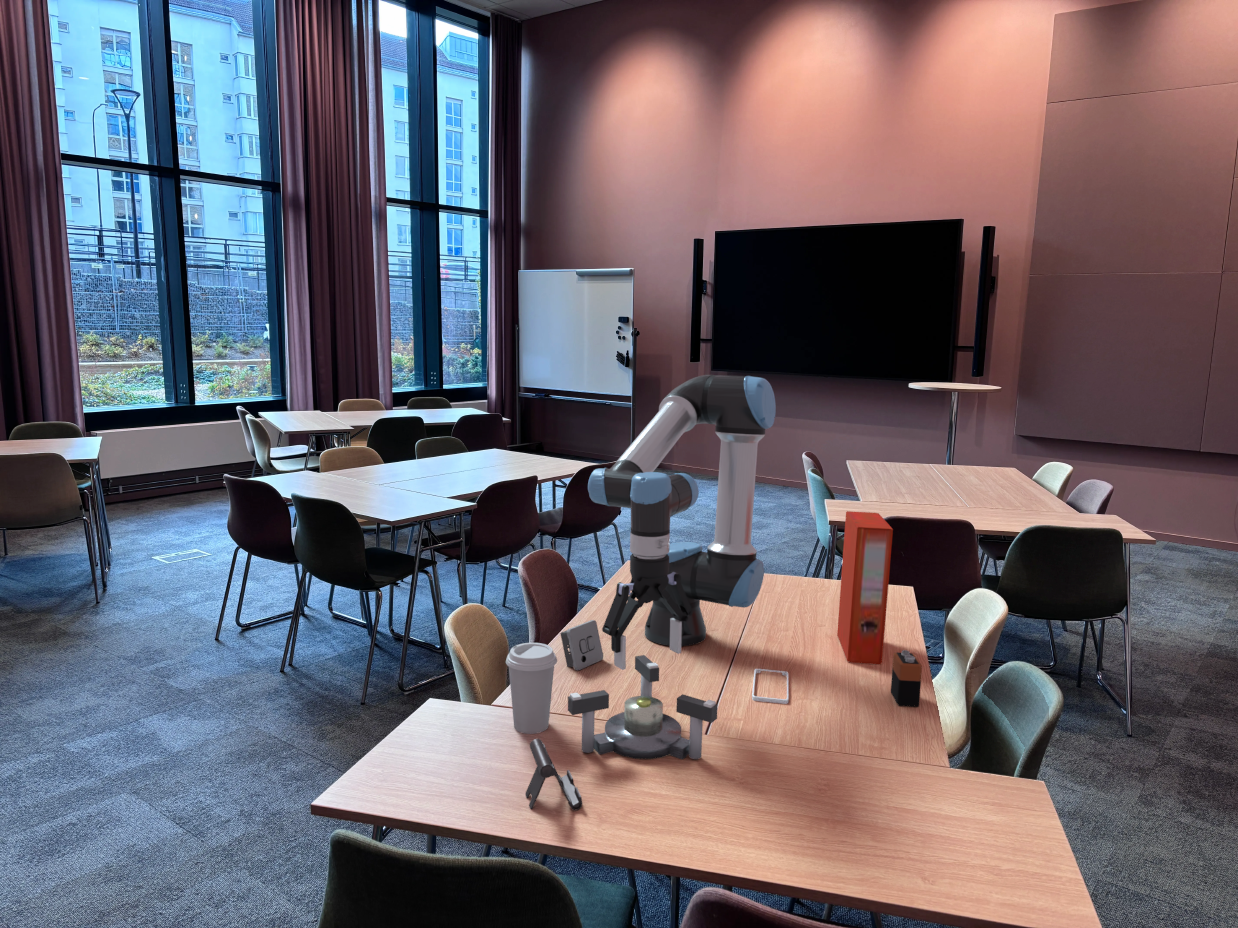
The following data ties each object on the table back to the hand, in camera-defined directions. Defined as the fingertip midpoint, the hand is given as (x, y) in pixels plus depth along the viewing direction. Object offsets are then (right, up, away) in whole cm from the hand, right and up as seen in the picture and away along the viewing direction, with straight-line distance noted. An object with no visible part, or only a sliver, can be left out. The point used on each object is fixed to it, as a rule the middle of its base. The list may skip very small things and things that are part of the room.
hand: (648, 659), depth 162 cm
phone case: (+27, -10, +15) cm, 32 cm away
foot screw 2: (0, -11, +1) cm, 11 cm away
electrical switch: (-14, -7, +26) cm, 30 cm away
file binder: (+52, -7, +37) cm, 64 cm away
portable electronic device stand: (-16, -16, -29) cm, 37 cm away
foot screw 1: (-11, -13, -14) cm, 22 cm away
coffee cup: (-22, -12, -5) cm, 26 cm away
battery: (+53, -11, +10) cm, 55 cm away
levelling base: (0, -13, -10) cm, 16 cm away
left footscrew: (+8, -14, -16) cm, 22 cm away
